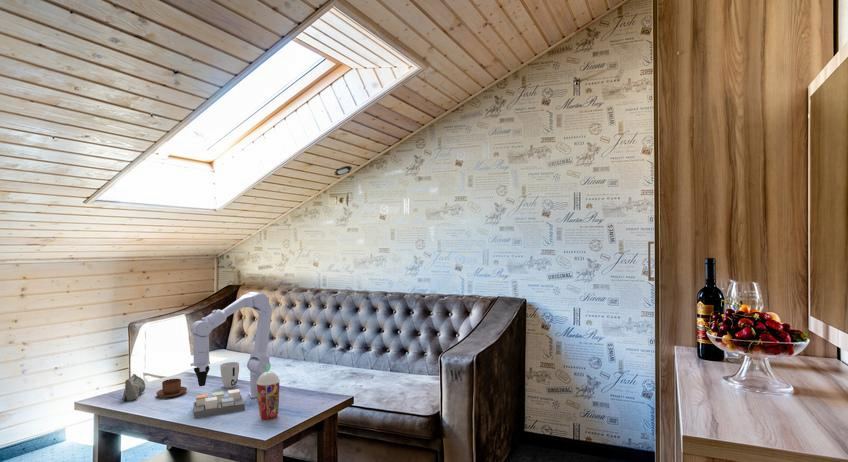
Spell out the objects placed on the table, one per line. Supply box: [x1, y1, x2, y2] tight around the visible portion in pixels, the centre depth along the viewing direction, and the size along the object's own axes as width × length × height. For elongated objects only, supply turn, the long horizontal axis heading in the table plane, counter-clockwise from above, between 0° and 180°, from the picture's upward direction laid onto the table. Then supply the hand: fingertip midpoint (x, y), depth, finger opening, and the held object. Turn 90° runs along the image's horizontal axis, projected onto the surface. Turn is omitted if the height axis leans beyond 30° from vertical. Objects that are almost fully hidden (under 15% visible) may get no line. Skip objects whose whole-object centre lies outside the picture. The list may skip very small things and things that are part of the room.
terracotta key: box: [195, 393, 209, 406], centre depth 202 cm, size 4×4×4 cm
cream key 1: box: [205, 396, 217, 410], centre depth 198 cm, size 4×4×4 cm
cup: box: [219, 361, 240, 389], centre depth 232 cm, size 8×8×10 cm
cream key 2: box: [227, 388, 241, 400], centre depth 207 cm, size 4×4×4 cm
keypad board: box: [193, 394, 246, 419], centre depth 202 cm, size 18×12×2 cm
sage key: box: [211, 390, 225, 403], centre depth 204 cm, size 4×4×4 cm
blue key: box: [221, 397, 234, 407], centre depth 200 cm, size 4×4×4 cm
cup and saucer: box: [155, 378, 188, 398], centre depth 222 cm, size 12×12×6 cm
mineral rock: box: [122, 373, 146, 401], centre depth 221 cm, size 13×11×10 cm
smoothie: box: [257, 364, 281, 421], centre depth 191 cm, size 8×8×20 cm
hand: (202, 385), depth 202 cm, fingers closed
